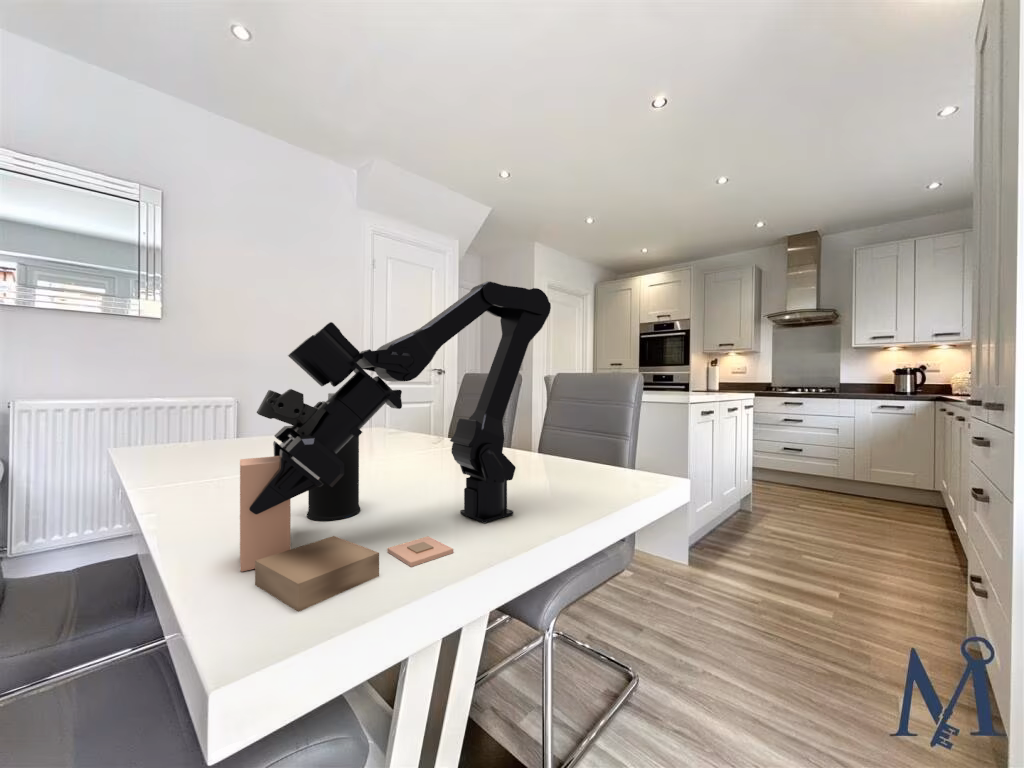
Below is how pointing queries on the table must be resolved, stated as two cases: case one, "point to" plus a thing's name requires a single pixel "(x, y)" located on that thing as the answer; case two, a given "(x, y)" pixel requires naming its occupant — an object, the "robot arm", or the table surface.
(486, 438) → the robot arm
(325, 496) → the aerosol can
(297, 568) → the walnut slab
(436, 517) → the table surface
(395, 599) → the table surface
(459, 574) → the table surface
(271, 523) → the terracotta block
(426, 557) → the tile
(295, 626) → the table surface
